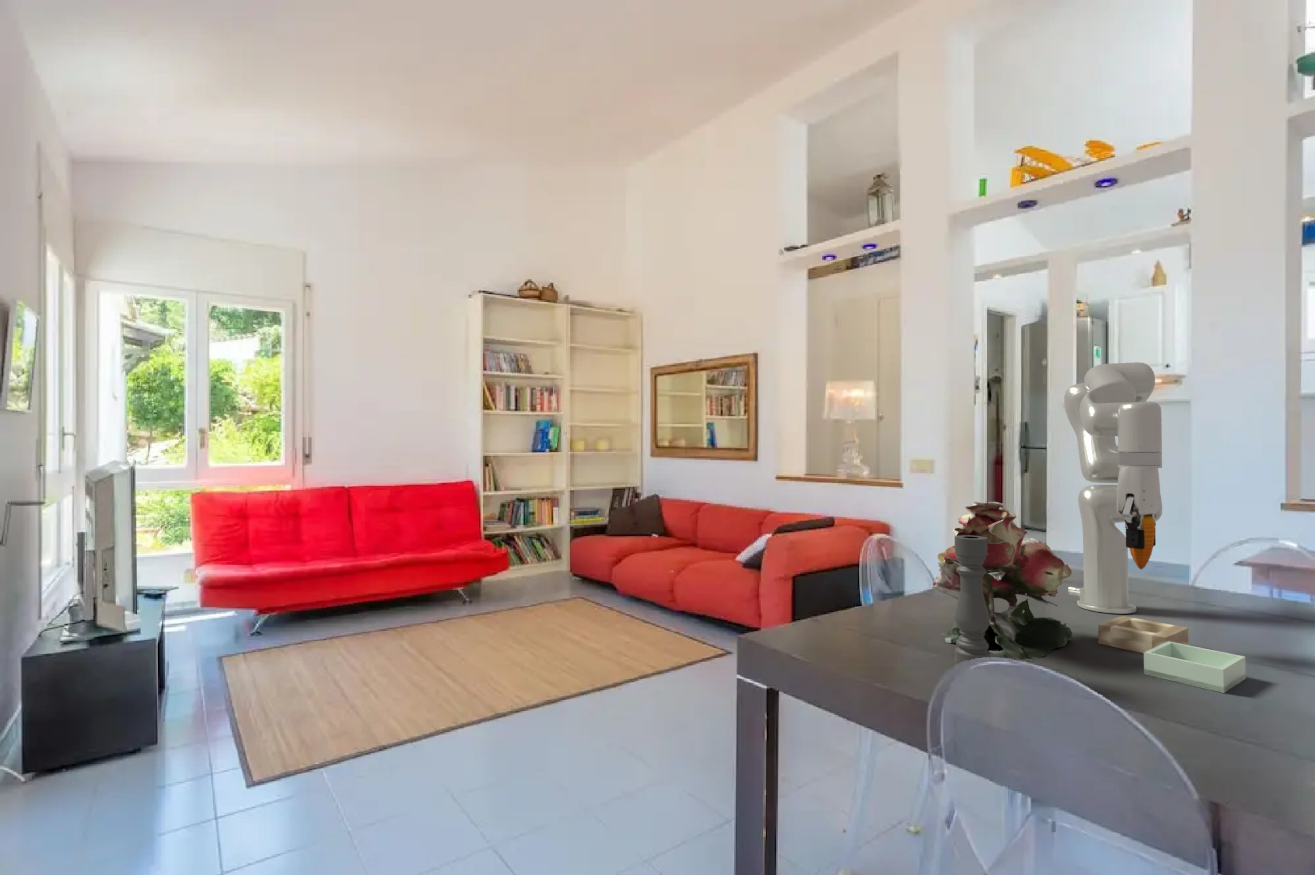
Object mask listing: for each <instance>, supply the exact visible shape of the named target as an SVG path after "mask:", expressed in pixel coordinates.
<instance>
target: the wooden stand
mask: <svg viewBox="0 0 1315 875" xmlns="http://www.w3.org/2000/svg"><path fill="white" fill-rule="evenodd" d="M1097 631H1098V636H1097V638H1098V639H1097V640H1098V644H1100V645H1103V646H1104V645H1105V646H1108V647H1109V646H1110V647H1114V648H1118V649H1123V650H1128V651H1132V652H1136V653H1140V654H1144V652H1146V651H1148V650H1150V649H1152V648H1155V647H1157V646H1159V645H1161V644H1163V643H1166V642H1168V641H1169V642H1174V643H1179V644H1184V645H1189V627H1186V626H1181V625H1175V624H1170V623H1166V622H1165V623H1163V622H1159V621H1155V620H1154V621H1153V620H1147V619H1142V618H1136V617H1131V616H1125V615H1121V616H1118V617H1115V618H1112V619H1110V620H1107V621H1104V622H1101V623H1099V624H1097Z"/></svg>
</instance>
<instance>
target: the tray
mask: <svg viewBox="0 0 1315 875" xmlns="http://www.w3.org/2000/svg"><path fill="white" fill-rule="evenodd" d="M1246 671H1247V670H1246V656H1244V655H1240V654H1239V655H1238V654H1234V653H1230V652H1225V651H1219V650H1215V649H1208V648H1203V647H1199V646H1193V645H1190V644H1188V645H1184V644H1179V643H1174V642H1169V641H1168V642H1166V643H1163V644H1161V645H1159V646H1157V647H1155V648H1152V649H1150V650H1148V651H1146V652H1144V653H1143V675H1146V676H1151V677H1155V678H1159V679H1163V680H1166V681H1167V680H1168V681H1170V682H1175V683H1180V684H1184V685H1188V686H1192V687H1196V688H1200V689H1205V690H1209V691H1212V692H1218V693H1222V694H1224V693H1226V692H1228V691H1229V690H1231V689H1233V688H1234V687H1235V686H1237V685H1239V684H1240V683H1241V682H1243V681H1244V680H1245V681H1246V679H1247V676H1246Z"/></svg>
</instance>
